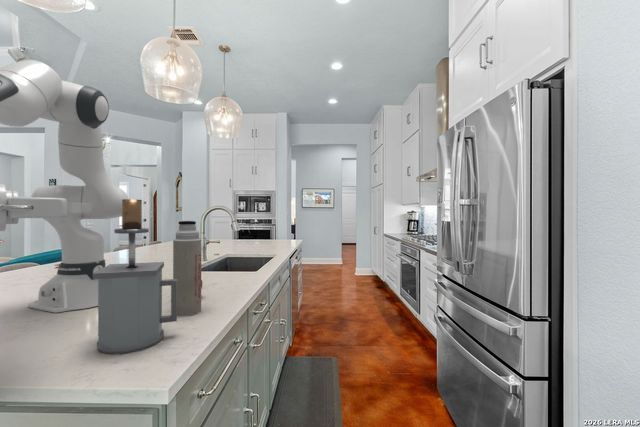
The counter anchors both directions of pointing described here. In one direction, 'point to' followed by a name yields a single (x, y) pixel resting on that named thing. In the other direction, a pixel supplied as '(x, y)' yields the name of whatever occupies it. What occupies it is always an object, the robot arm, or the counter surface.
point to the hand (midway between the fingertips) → (84, 207)
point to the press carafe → (132, 306)
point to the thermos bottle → (187, 268)
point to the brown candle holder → (131, 224)
